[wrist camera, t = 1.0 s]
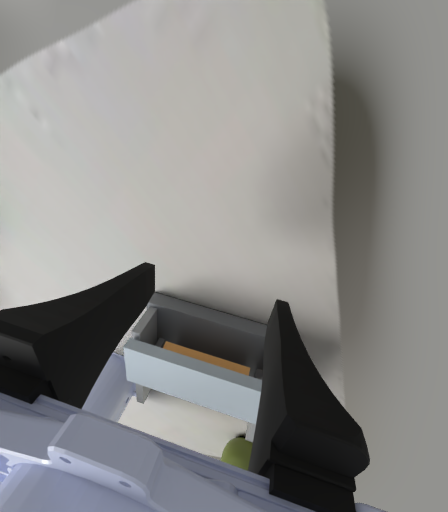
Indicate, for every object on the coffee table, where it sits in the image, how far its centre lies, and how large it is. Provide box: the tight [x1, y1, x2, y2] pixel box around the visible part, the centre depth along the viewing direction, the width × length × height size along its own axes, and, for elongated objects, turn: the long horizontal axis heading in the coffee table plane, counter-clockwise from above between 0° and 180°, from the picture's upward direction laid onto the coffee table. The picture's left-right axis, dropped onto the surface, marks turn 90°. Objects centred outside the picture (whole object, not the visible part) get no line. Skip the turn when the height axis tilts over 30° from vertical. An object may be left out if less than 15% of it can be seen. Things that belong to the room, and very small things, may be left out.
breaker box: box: [132, 292, 267, 442], centre depth 25 cm, size 12×14×5 cm
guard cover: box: [123, 338, 262, 424], centre depth 21 cm, size 5×13×1 cm, turn 81°
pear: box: [221, 437, 253, 471], centre depth 32 cm, size 6×5×10 cm
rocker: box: [163, 341, 250, 376], centre depth 24 cm, size 7×10×1 cm
